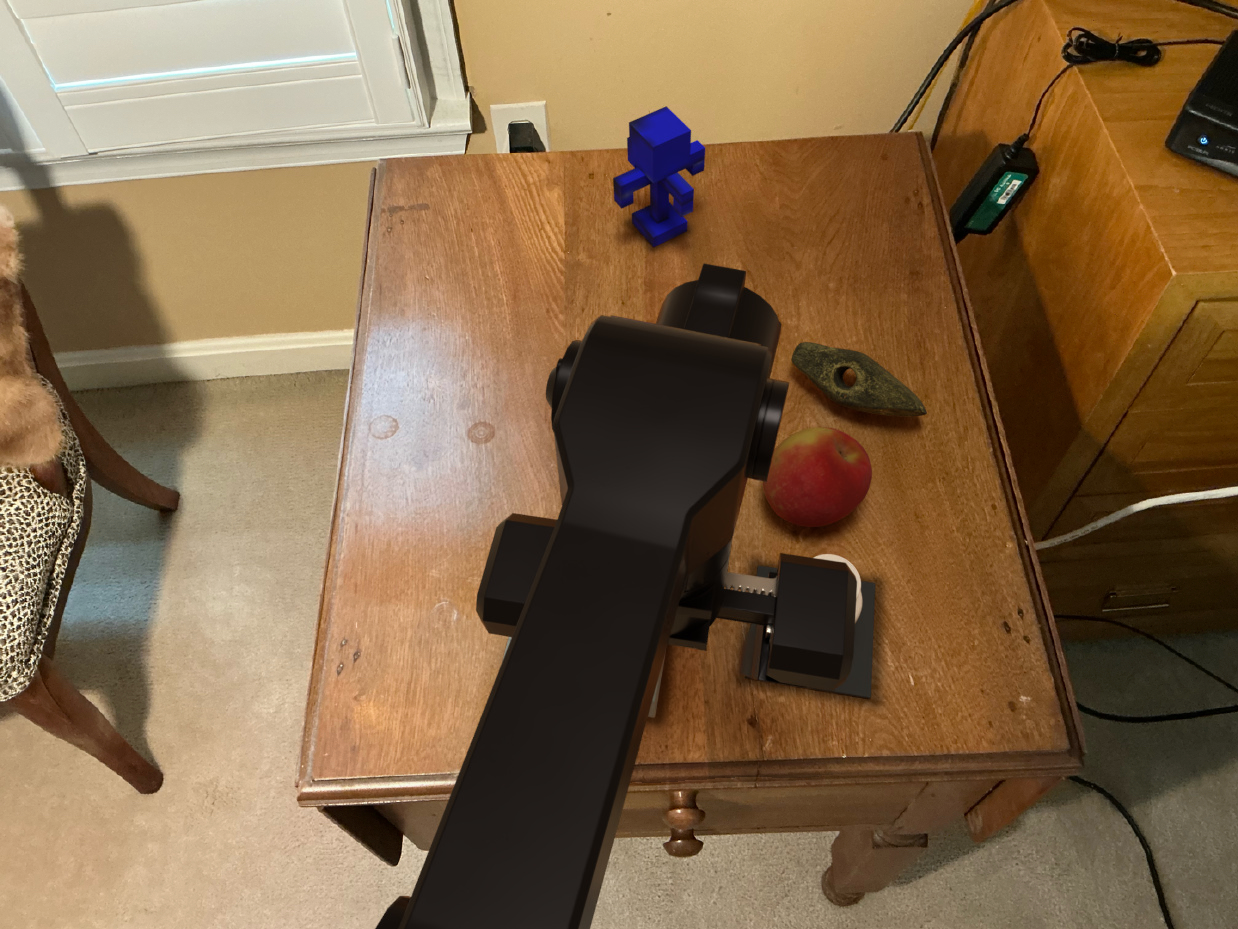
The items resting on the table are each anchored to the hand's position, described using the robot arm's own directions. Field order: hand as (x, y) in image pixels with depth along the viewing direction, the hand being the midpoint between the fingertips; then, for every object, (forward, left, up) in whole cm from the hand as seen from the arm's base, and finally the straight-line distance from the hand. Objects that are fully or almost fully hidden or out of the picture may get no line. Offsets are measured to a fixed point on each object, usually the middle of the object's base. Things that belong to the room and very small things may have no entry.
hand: (664, 652), depth 52 cm
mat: (+8, -10, -13) cm, 18 cm away
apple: (+19, -9, -13) cm, 25 cm away
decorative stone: (+30, -12, -13) cm, 35 cm away
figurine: (+48, +8, -13) cm, 50 cm away
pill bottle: (+8, -10, -13) cm, 18 cm away
